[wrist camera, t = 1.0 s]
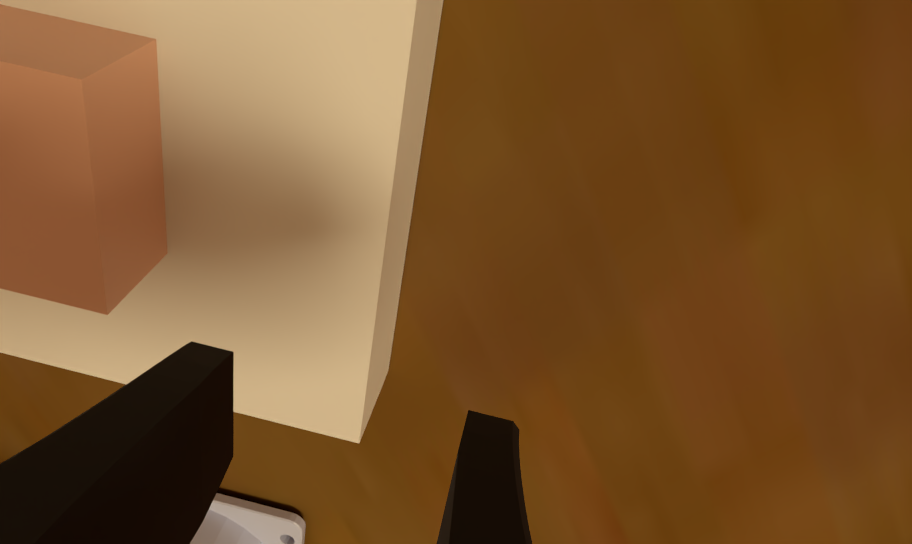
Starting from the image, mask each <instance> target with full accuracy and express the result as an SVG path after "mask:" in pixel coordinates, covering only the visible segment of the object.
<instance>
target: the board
mask: <svg viewBox="0 0 912 544" xmlns="http://www.w3.org/2000/svg"><path fill="white" fill-rule="evenodd" d="M0 4H2V5H6V6H11V7H15V8H19V9H24V10H28V11H33V12H37V13H42V14H46V15H51V16H55V17H60V18H64V19H69V20H73V21H78V22H82V23H87V24H91V25H96V26H100V27H105V28H109V29H113V30H118V31H122V32H127V33H131V34H136V35H140V36H145V37H149V38H154V39H156V44H157V63H158V82H159V101H160V120H161V139H162V157H163V176H164V195H165V214H166V233H167V252H168V253H167V254H166V255H165V256H164V258H163V259H162V260H161V261H160V262H159V263H158V264H157V265H156V266H155V267H154V268H153V269H152V270H151V271H150V272H149V273H148V274H147V275H146V276H145V277H144V278H143V279H142V280H141V281H140V282H139V283H138V284H137V285H136V286H135V287H134V288H133V289H132V290H131V291H130V293H129V294H128V295H127V296H126V297H125V298H124V299H123V300H122V301H121V302H120V303H119V304H118V305H117V306H116V307H115V308H114V309H113V310H112V311H111V312H110V313H109V314H108V315H105V314H101V313H97V312H93V311H89V310H85V309H81V308H77V307H73V306H69V305H65V304H61V303H57V302H53V301H49V300H45V299H41V298H37V297H33V296H29V295H25V294H21V293H17V292H12V291H8V290H4V289H0V352H1V353H5V354H9V355H13V356H17V357H21V358H24V359H28V360H32V361H36V362H40V363H44V364H48V365H52V366H56V367H60V368H64V369H68V370H72V371H76V372H80V373H84V374H87V375H91V376H95V377H99V378H103V379H107V380H111V381H115V382H119V383H123V384H128V383H129V382H131V381H132V380H134V379H135V378H137V377H138V376H140V375H141V374H143V373H144V372H146V371H147V370H148V369H150V368H151V367H153V366H154V365H156V364H157V363H159V362H160V361H162V360H163V359H165V358H166V357H168V356H169V355H171V354H172V353H174V352H175V351H177V350H178V349H180V348H181V347H183V346H184V345H186V344H188V343H189V342H191V341H192V342H196V343H200V344H204V345H208V346H212V347H216V348H220V349H224V350H228V351H232V352H234V366H233V412H237V413H241V414H245V415H249V416H253V417H257V418H261V419H265V420H269V421H273V422H277V423H281V424H285V425H288V426H292V427H296V428H300V429H304V430H308V431H312V432H316V433H320V434H324V435H328V436H332V437H336V438H340V439H344V440H348V441H352V442H355V443H360V440H361V438H362V435H363V433H364V430H365V428H366V425H367V423H368V420H369V418H370V415H371V413H372V410H373V408H374V405H375V403H376V400H377V398H378V395H379V393H380V390H381V388H382V385H383V383H384V380H385V378H386V375H387V373H388V370H389V363H390V356H391V349H392V343H393V336H394V329H395V322H396V316H397V309H398V302H399V295H400V289H401V282H402V275H403V268H404V262H405V255H406V248H407V241H408V235H409V228H410V221H411V215H412V208H413V201H414V194H415V188H416V181H417V174H418V167H419V161H420V154H421V147H422V140H423V134H424V127H425V120H426V113H427V107H428V100H429V93H430V87H431V80H432V73H433V66H434V60H435V53H436V46H437V39H438V33H439V26H440V19H441V12H442V6H443V0H0Z"/></svg>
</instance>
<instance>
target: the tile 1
mask: <svg viewBox="0 0 912 544" xmlns="http://www.w3.org/2000/svg"><path fill="white" fill-rule="evenodd" d="M167 253H168V252H167V233H166V214H165V195H164V176H163V157H162V139H161V120H160V101H159V82H158V63H157V44H156V39H154V38H149V37H145V36H140V35H136V34H131V33H127V32H122V31H118V30H113V29H109V28H105V27H100V26H96V25H91V24H87V23H82V22H78V21H73V20H69V19H64V18H60V17H55V16H51V15H46V14H42V13H37V12H33V11H28V10H24V9H19V8H15V7H11V6H6V5H2V4H0V289H4V290H8V291H12V292H17V293H21V294H25V295H29V296H33V297H37V298H41V299H45V300H49V301H53V302H57V303H61V304H65V305H69V306H73V307H77V308H81V309H85V310H89V311H93V312H97V313H101V314H105V315H108V314H109V313H110V312H111V311H112V310H113V309H114V308H115V307H116V306H117V305H118V304H119V303H120V302H121V301H122V300H123V299H124V298H125V297H126V296H127V295H128V294H129V293H130V291H131V290H132V289H133V288H134V287H135V286H136V285H137V284H138V283H139V282H140V281H141V280H142V279H143V278H144V277H145V276H146V275H147V274H148V273H149V272H150V271H151V270H152V269H153V268H154V267H155V266H156V265H157V264H158V263H159V262H160V261H161V260H162V259H163V258H164V256H165V255H166V254H167Z"/></svg>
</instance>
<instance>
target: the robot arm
mask: <svg viewBox="0 0 912 544" xmlns="http://www.w3.org/2000/svg"><path fill="white" fill-rule="evenodd" d="M233 366H234V352H232V351H228V350H224V349H220V348H216V347H212V346H208V345H204V344H200V343H196V342H192V341H191V342H189V343H188V344H186V345H184V346H183V347H181V348H180V349H178V350H177V351H175V352H174V353H172V354H171V355H169V356H168V357H166V358H165V359H163V360H162V361H160V362H159V363H157V364H156V365H154V366H153V367H151V368H150V369H148V370H147V371H146V372H144V373H143V374H141V375H140V376H138V377H137V378H135V379H134V380H132V381H131V382H129V383H128V384H126V385H125V386H123V387H122V388H120V389H119V390H117V391H116V392H114V393H113V394H111V395H110V396H108V397H107V398H105V399H104V400H102V401H101V402H99V403H98V404H96V405H95V406H93V407H92V408H90V409H89V410H87V411H85V412H84V413H82V414H81V415H79V416H78V417H76V418H75V419H73V420H71V421H70V422H68V423H67V424H65V425H64V426H62V427H61V428H59V429H57V430H56V431H54V432H53V433H51V434H50V435H48V436H46V437H45V438H43V439H41V440H40V441H38V442H37V443H35V444H33V445H32V446H30V447H28V448H26V449H25V450H23V451H21V452H20V453H18V454H16V455H14V456H13V457H11V458H9V459H8V460H6V461H4V462H3V463H1V464H0V544H304V539H305V527H306V526H305V522H304V520H303V519H302V518H301V517H300V516H299V515H297V514H295V513H292V512H288V511H285V510H281V509H277V508H273V507H269V506H266V505H262V504H258V503H254V502H250V501H246V500H243V499H239V498H235V497H231V496H227V495H223V494H220V493H217V491H218V489H219V487H220V484H221V482H222V480H223V478H224V475H225V473H226V471H227V469H228V466H229V464H230V462H231V460H232V458H233ZM437 544H532V540H531V536H530V531H529V526H528V520H527V514H526V509H525V502H524V495H523V488H522V480H521V471H520V459H519V429H518V427H517V426H516V425H515V423H514V422H513V421H510V420H506V419H502V418H498V417H494V416H490V415H486V414H482V413H478V412H474V411H470V410H468V414H467V418H466V422H465V426H464V430H463V434H462V438H461V442H460V446H459V450H458V454H457V459H456V463H455V467H454V472H453V476H452V480H451V485H450V489H449V493H448V498H447V502H446V506H445V511H444V515H443V519H442V523H441V528H440V532H439V536H438V541H437Z"/></svg>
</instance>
